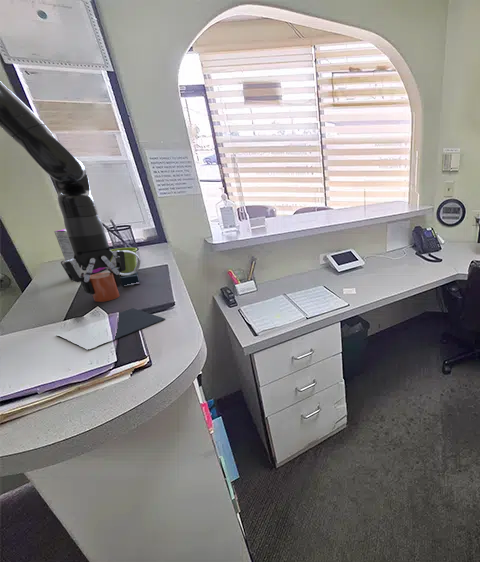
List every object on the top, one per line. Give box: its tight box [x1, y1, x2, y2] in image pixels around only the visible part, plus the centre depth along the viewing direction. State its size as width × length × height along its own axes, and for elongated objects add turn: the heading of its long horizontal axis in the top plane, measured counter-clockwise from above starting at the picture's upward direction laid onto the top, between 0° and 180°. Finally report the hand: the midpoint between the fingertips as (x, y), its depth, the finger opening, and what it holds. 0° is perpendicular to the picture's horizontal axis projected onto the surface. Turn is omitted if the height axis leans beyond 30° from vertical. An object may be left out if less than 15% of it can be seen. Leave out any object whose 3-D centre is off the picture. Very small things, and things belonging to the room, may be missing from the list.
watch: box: [111, 250, 141, 287], centre depth 100 cm, size 6×8×11 cm
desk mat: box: [114, 307, 166, 341], centre depth 74 cm, size 16×14×1 cm
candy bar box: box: [53, 228, 107, 277], centre depth 109 cm, size 11×5×16 cm, turn 179°
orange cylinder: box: [89, 271, 121, 303], centre depth 89 cm, size 6×6×7 cm
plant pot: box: [110, 247, 138, 273], centre depth 109 cm, size 9×9×9 cm
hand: (104, 289), depth 90 cm, fingers closed on orange cylinder, 6 cm apart
